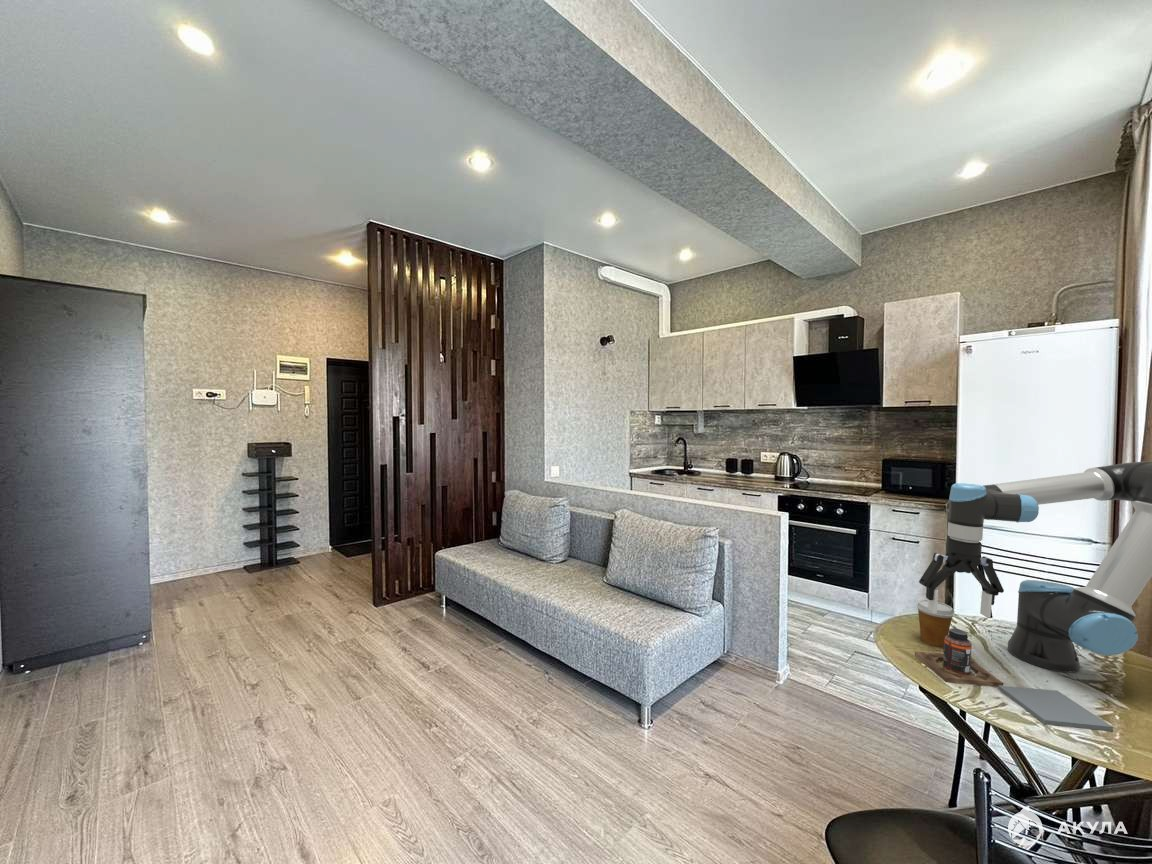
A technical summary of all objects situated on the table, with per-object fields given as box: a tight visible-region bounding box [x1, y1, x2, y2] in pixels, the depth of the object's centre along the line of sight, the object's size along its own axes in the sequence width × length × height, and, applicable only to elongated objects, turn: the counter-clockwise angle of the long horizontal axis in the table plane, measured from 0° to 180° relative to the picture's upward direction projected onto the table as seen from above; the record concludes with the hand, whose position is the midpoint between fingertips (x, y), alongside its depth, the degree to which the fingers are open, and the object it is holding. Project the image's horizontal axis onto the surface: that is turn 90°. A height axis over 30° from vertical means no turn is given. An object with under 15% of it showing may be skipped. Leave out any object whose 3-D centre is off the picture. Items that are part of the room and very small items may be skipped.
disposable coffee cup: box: [915, 599, 955, 648], centre depth 146 cm, size 10×10×12 cm
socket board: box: [914, 651, 1004, 688], centre depth 130 cm, size 14×14×1 cm
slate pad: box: [997, 685, 1114, 732], centre depth 113 cm, size 14×14×1 cm
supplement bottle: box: [942, 627, 972, 675], centre depth 130 cm, size 6×6×11 cm
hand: (958, 613), depth 129 cm, fingers open, 13 cm apart
